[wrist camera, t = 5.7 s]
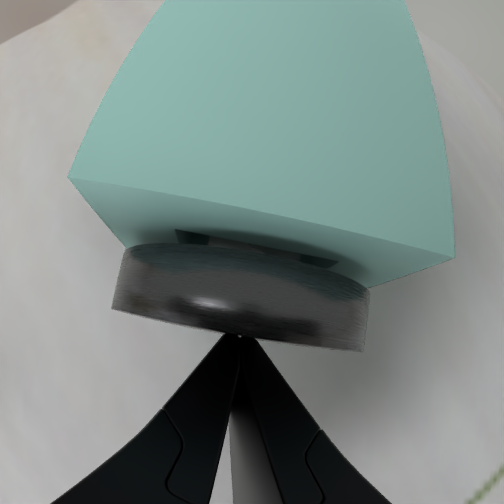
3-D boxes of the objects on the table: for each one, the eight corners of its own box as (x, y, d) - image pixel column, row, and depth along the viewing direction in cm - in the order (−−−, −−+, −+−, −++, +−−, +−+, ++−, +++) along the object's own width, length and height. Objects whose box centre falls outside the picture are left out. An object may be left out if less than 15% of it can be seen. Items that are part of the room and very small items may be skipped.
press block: (310, 305, 16) (454, 258, 6) (151, 275, 15) (67, 177, 5) (328, 115, 19) (399, -12, 9) (205, 88, 19) (215, -59, 8)
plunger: (314, 348, 13) (418, 355, 6) (140, 317, 12) (67, 296, 5) (336, 103, 16) (389, 7, 9) (208, 74, 15) (216, -37, 9)
